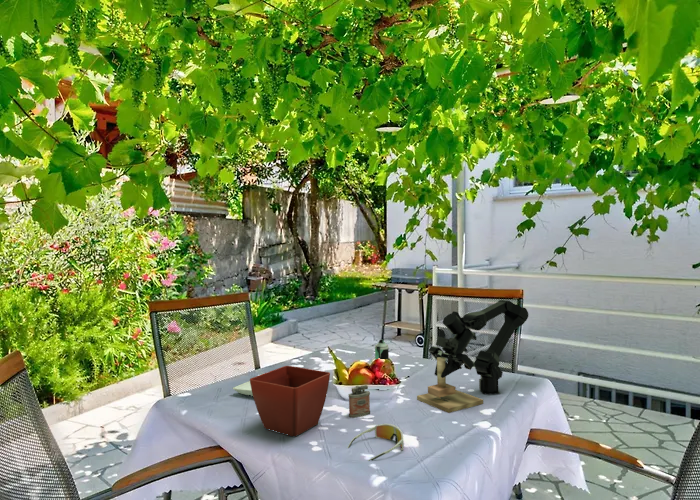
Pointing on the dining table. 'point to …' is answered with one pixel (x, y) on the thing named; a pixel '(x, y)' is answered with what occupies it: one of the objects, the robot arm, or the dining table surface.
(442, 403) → the board
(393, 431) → the sunglasses
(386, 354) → the spray can
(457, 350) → the robot arm
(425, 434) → the dining table surface
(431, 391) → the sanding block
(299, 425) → the plant pot
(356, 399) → the lighter
